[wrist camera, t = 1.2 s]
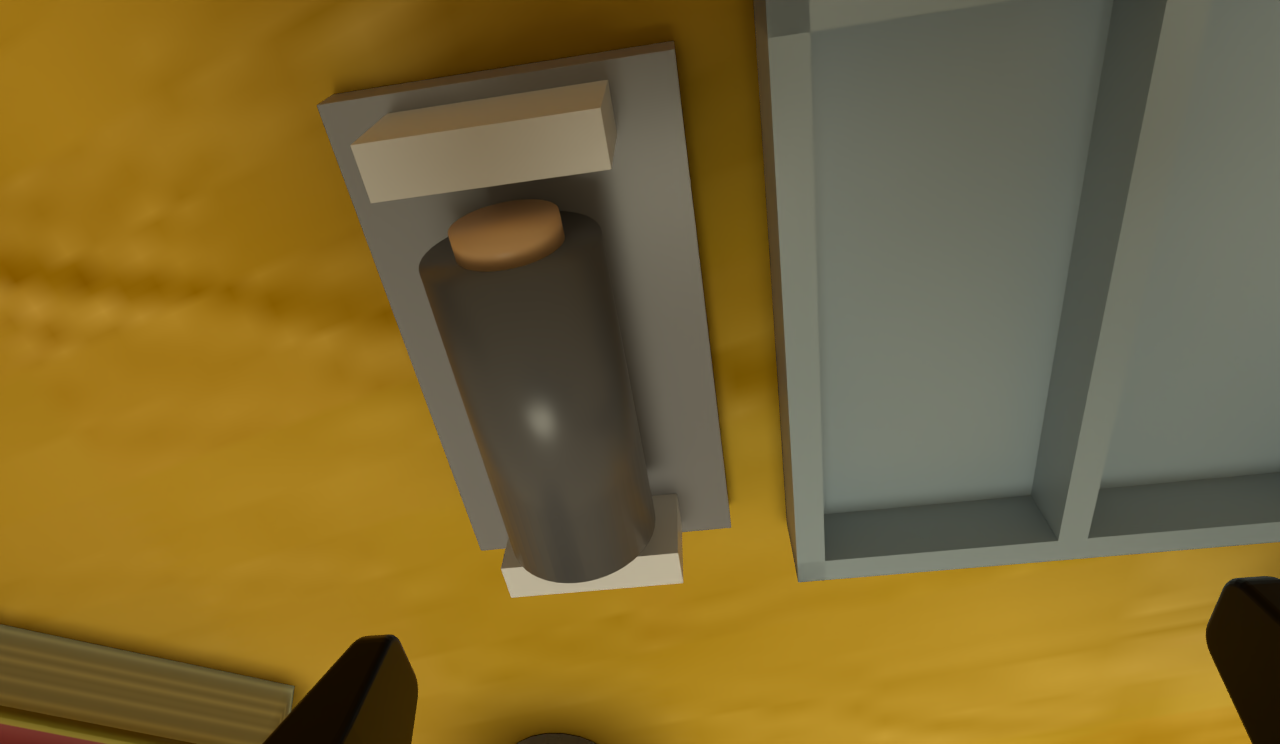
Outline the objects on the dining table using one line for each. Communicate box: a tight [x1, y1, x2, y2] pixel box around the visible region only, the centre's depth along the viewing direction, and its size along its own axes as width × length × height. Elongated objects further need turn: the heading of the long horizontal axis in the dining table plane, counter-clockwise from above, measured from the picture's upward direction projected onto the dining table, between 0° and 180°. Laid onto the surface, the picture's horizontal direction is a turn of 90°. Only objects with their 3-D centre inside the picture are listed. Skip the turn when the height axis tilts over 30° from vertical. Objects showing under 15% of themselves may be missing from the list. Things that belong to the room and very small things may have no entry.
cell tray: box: [753, 0, 1280, 582], centre depth 19 cm, size 16×15×2 cm
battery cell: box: [419, 199, 656, 583], centre depth 19 cm, size 9×4×4 cm, turn 9°
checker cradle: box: [317, 41, 731, 598], centre depth 20 cm, size 14×8×3 cm, turn 9°
